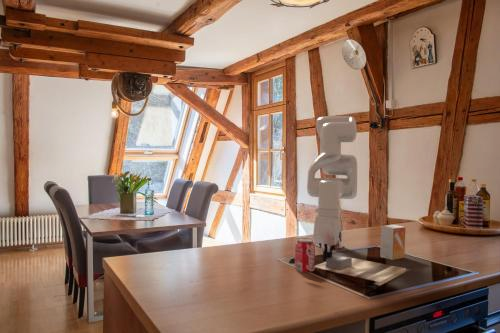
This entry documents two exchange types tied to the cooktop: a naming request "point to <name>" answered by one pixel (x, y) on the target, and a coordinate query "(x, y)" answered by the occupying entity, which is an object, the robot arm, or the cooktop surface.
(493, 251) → the cooktop surface
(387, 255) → the small box
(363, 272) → the plywood panel
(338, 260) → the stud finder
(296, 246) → the soda can
